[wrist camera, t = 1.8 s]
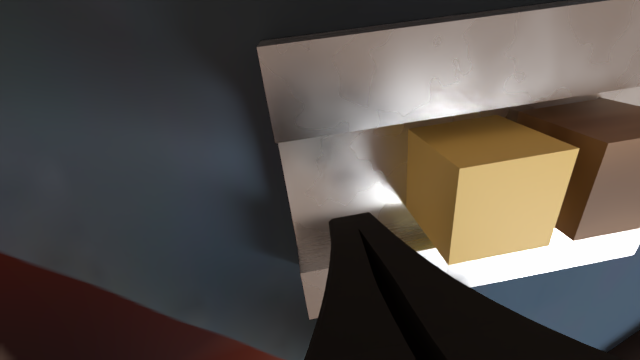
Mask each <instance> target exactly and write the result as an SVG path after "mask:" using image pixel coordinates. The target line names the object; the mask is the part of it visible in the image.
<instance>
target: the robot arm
mask: <svg viewBox="0 0 640 360" xmlns="http://www.w3.org/2000/svg"><path fill="white" fill-rule="evenodd" d="M328 223H329V231H330V239H331V251H330V262H329V270H328V275H327V281H326V286H325V291H324V296H323V300H322V304H321V308H320V312H319V316H318V319H317V323H316V326H315V329H314V332H313V335H312V339H311V342H310V345H309V348H308V351H307V354H306V356H305V359H304V360H624V359H622V358H619V357H617V356H614V355H611V354H609V353H606V352H604V351H601V350H598V349H596V348H593V347H591V346H588V345H586V344H584V343H581V342H579V341H577V340H575V339H572V338H570V337H568V336H565V335H563V334H561V333H559V332H556V331H554V330H552V329H549V328H547V327H545V326H543V325H541V324H539V323H537V322H534V321H532V320H530V319H528V318H526V317H524V316H522V315H520V314H518V313H516V312H514V311H512V310H510V309H508V308H506V307H504V306H502V305H500V304H498V303H496V302H495V301H493V300H491V299H489V298H487V297H485V296H484V295H482V294H480V293H478V292H476V291H475V290H473V289H471V288H470V287H468V286H466V285H465V284H463V283H461V282H460V281H458V280H456V279H455V278H453V277H452V276H450V275H448V274H447V273H445V272H444V271H442V270H441V269H440V268H438V267H437V266H435V265H434V264H432V263H431V262H430V261H428V260H427V259H425V258H424V257H423V256H421V255H420V254H419V253H417V252H416V251H415V250H414V249H412V248H411V247H410V246H409V245H407V244H406V243H405V242H403V241H402V240H401V239H400V238H399V237H397V236H396V235H395V234H394V233H393V232H391V231H390V230H389V229H388V228H387V227H386V226H384V225H383V224H382V223H381V222H380V221H379V220H378V219H377V218H375V217H374V216H373V215H372V214H371V213H369V212H367V213H361V214H355V215H350V216H344V217H339V218H333V219H331V220H330V221H329V222H328Z"/></svg>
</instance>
